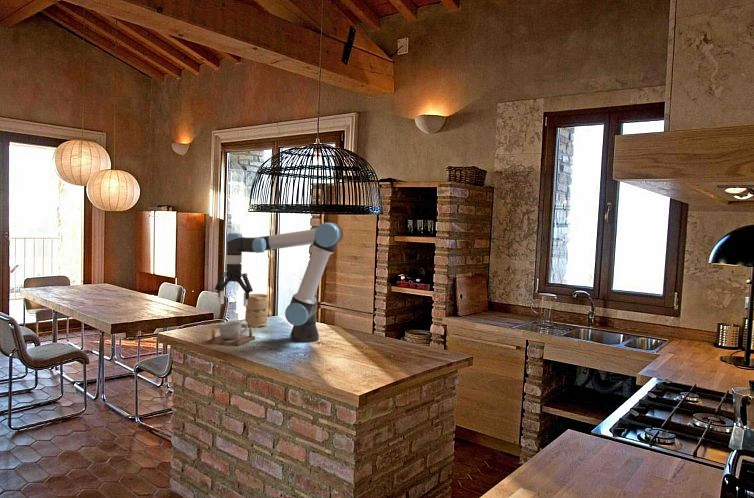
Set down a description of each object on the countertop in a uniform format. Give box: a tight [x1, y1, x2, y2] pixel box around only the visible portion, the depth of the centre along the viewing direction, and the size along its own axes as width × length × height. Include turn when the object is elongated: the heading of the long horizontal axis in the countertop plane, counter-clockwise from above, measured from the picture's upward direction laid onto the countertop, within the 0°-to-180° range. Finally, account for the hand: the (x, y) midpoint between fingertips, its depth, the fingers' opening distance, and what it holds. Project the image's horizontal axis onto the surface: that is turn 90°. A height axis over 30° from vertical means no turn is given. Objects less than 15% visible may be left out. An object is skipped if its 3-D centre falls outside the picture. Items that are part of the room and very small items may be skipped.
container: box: [244, 293, 269, 329], centre depth 324 cm, size 13×13×18 cm
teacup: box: [218, 321, 249, 339], centre depth 283 cm, size 14×11×8 cm
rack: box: [207, 326, 256, 347], centre depth 283 cm, size 17×17×6 cm
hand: (233, 304), depth 282 cm, fingers open, 13 cm apart
